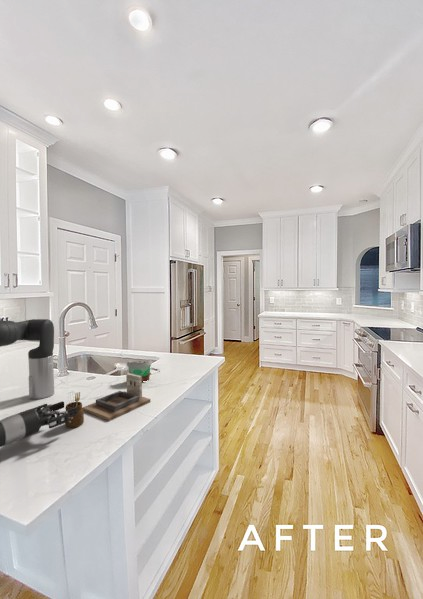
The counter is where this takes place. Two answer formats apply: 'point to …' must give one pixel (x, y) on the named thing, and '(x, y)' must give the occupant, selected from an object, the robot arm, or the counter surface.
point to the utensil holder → (78, 418)
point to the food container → (140, 369)
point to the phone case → (155, 371)
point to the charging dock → (119, 400)
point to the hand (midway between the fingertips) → (70, 407)
